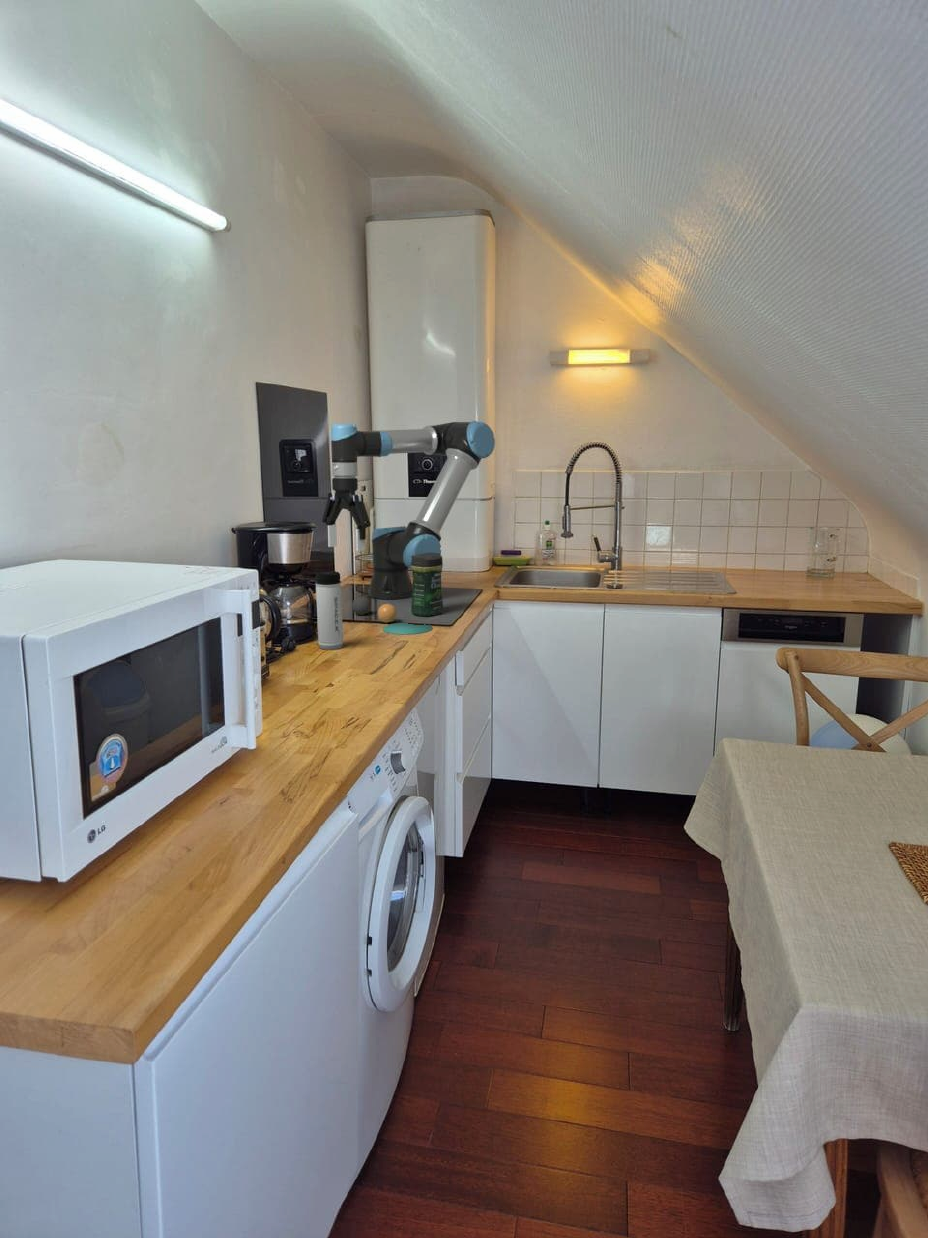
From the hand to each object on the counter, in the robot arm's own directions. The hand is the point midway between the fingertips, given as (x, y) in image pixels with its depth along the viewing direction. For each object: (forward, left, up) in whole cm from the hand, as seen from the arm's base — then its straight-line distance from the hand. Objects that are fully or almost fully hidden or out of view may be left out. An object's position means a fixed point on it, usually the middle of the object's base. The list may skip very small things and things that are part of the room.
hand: (346, 548), depth 248 cm
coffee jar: (-15, +19, -20) cm, 32 cm away
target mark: (+2, +30, -20) cm, 36 cm away
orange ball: (+1, +20, -17) cm, 26 cm away
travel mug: (+29, +31, -20) cm, 47 cm away
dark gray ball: (0, +6, -17) cm, 18 cm away
